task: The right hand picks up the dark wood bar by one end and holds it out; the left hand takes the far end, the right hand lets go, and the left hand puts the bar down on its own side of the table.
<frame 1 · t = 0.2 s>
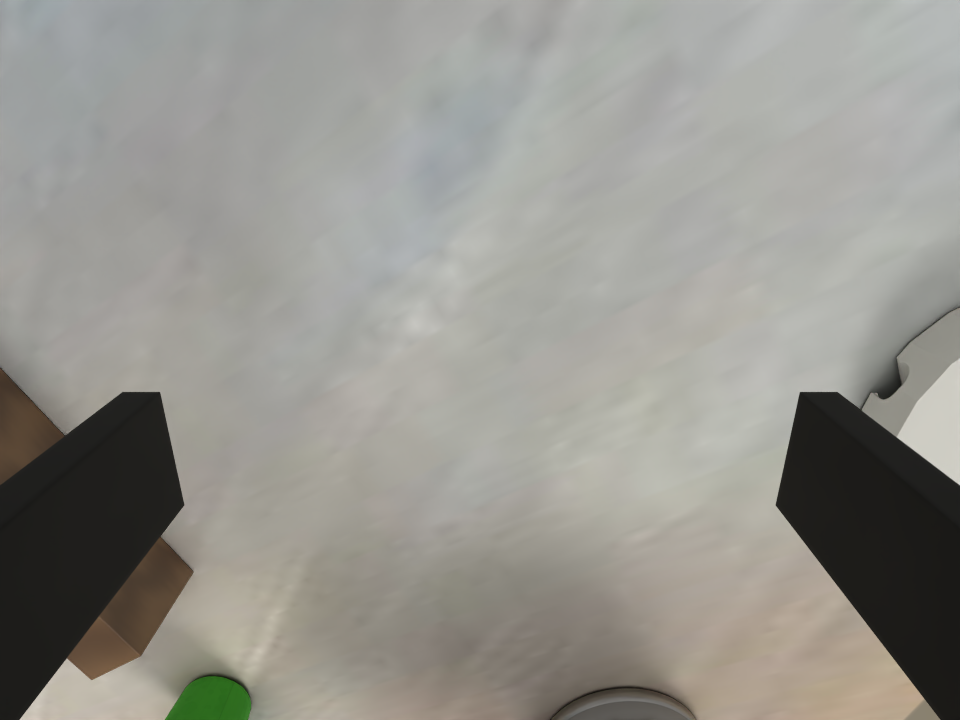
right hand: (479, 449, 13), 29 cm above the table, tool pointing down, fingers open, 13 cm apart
potted flower: (221, 698, 55), on the table
bar: (51, 458, 46), on the table
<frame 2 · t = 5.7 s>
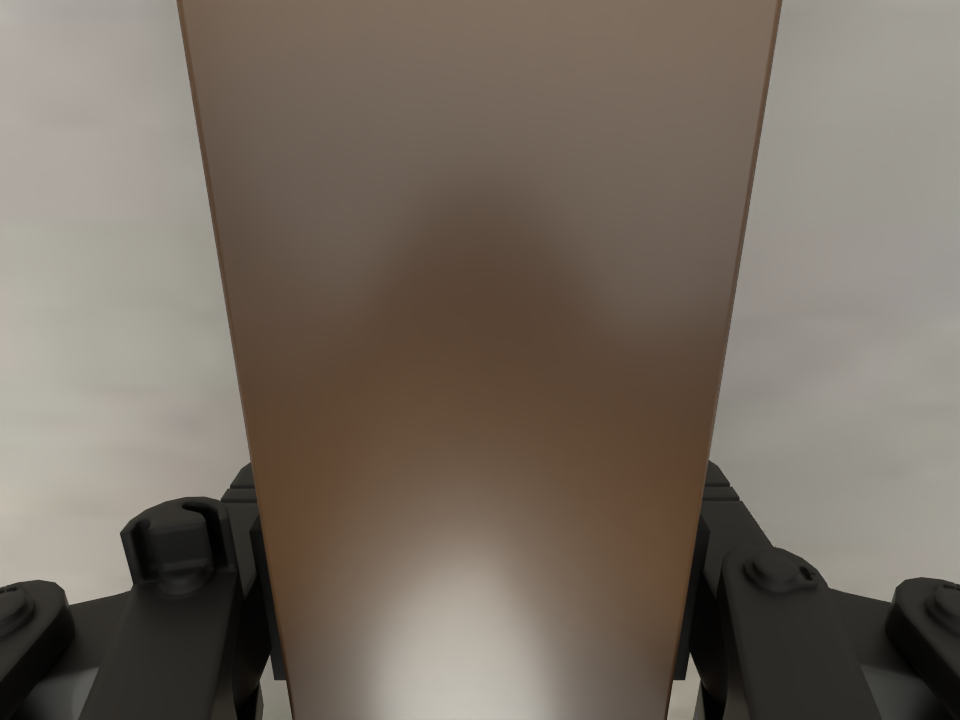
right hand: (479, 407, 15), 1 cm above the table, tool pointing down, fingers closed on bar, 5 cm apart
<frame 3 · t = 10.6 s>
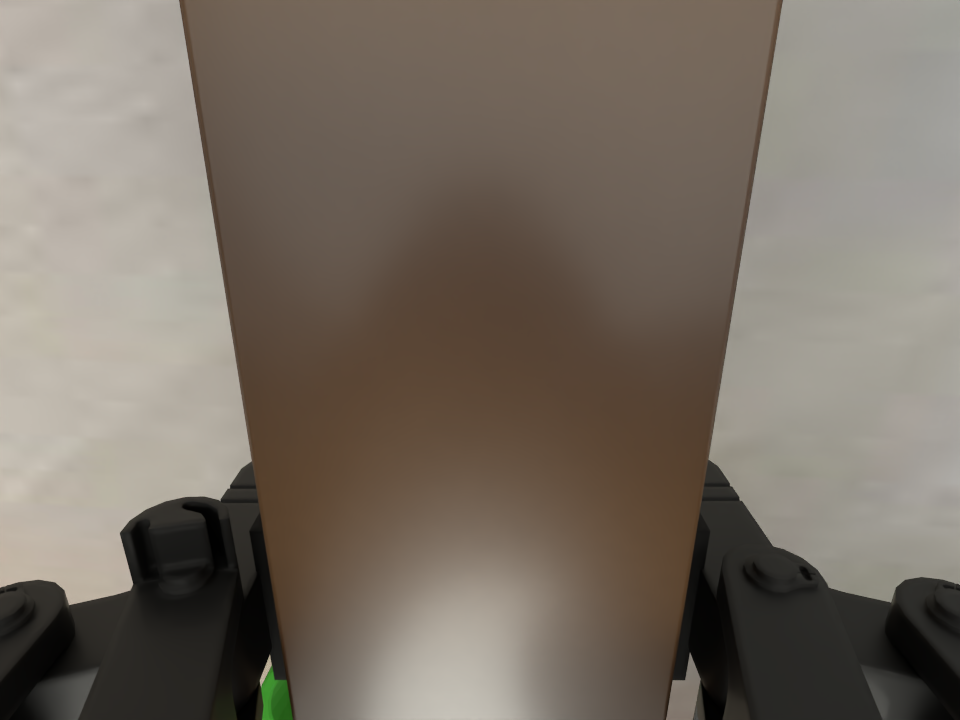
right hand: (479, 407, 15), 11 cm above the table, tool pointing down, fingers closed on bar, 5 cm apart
potted flower: (382, 596, 31), on the table
when the right hand's fingers open (11 cm above the table, at t = 11.4 s): bar stays where it is, held by the left hand.
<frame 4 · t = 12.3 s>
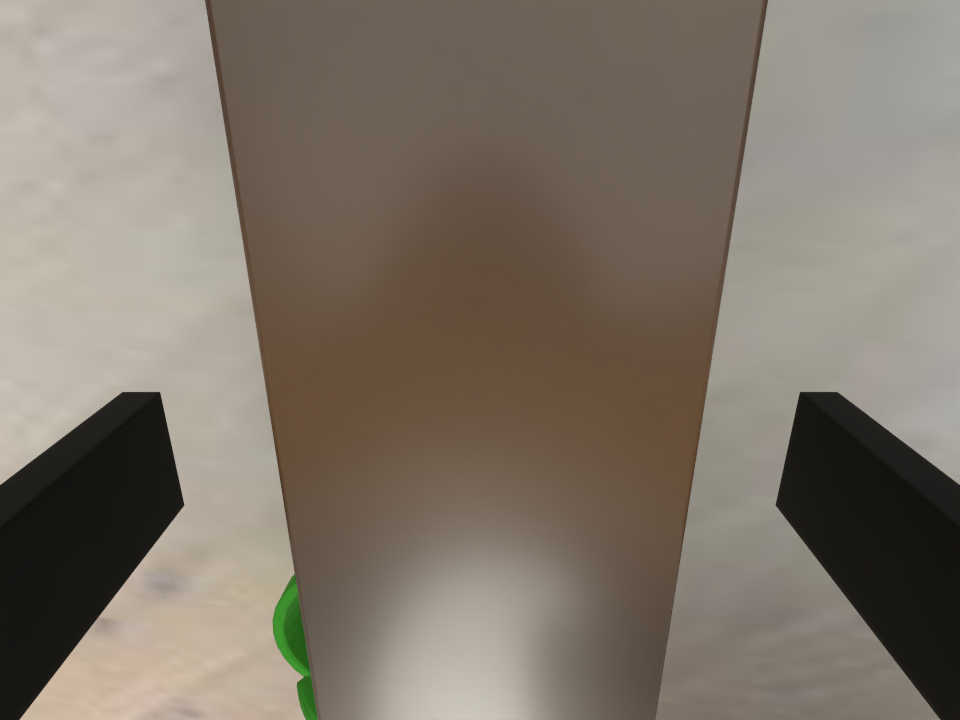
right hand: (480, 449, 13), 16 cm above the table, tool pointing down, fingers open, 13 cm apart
potted flower: (385, 538, 33), on the table
when the left hand's fingers open (5 cm above the table, at t = 19.2 s): bar stays where it is, resting on ashtray.
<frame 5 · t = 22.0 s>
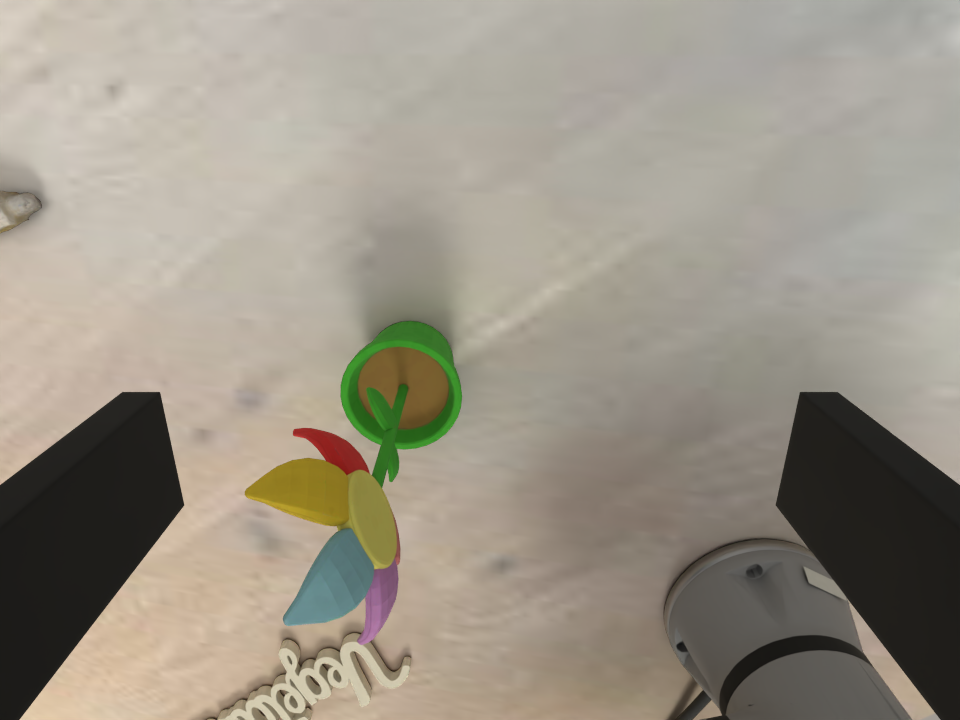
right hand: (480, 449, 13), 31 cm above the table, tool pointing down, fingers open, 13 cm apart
potted flower: (413, 361, 45), on the table
decorative sign: (281, 695, 58), on the table
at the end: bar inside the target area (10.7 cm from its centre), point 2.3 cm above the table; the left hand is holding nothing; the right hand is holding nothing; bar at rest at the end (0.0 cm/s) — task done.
